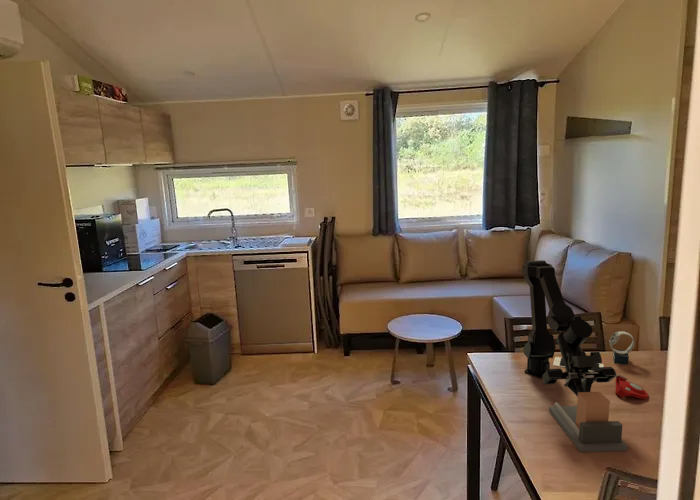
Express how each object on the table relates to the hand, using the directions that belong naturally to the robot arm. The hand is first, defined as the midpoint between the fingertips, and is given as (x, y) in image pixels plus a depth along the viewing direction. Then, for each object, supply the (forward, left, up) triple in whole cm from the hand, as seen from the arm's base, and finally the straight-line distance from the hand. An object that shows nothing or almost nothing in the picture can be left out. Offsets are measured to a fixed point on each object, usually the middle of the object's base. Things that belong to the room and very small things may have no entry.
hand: (587, 406), depth 132 cm
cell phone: (-22, +37, -8) cm, 44 cm away
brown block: (+2, -2, -6) cm, 6 cm away
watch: (-14, +51, -7) cm, 54 cm away
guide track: (0, 0, -7) cm, 7 cm away
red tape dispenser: (-2, +31, -8) cm, 32 cm away
